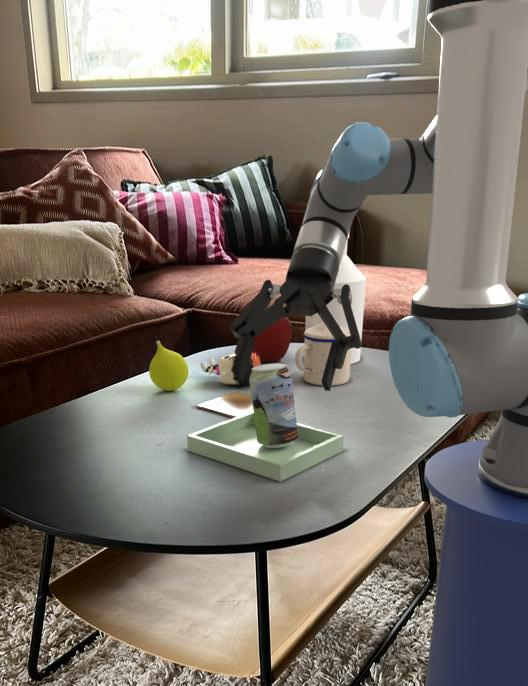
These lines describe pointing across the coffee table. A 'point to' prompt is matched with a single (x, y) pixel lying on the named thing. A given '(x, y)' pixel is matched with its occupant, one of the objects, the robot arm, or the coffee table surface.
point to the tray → (246, 453)
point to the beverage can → (273, 405)
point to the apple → (273, 341)
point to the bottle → (357, 286)
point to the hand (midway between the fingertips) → (281, 381)
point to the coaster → (230, 404)
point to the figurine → (230, 368)
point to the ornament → (168, 369)
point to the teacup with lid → (321, 355)
